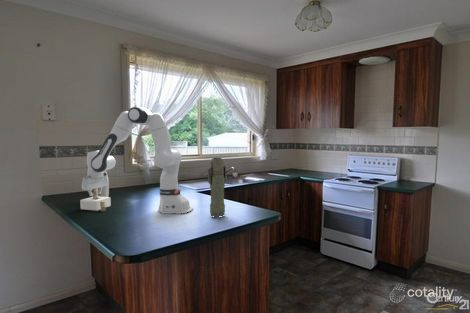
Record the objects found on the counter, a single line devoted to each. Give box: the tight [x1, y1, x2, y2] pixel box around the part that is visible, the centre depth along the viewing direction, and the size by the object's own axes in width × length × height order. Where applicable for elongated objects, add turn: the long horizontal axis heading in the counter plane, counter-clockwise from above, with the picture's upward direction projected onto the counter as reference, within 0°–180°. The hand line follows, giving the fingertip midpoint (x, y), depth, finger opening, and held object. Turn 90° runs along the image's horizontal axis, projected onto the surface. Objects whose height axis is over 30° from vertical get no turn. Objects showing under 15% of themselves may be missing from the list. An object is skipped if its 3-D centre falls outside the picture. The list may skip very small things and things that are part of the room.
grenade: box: [207, 157, 227, 217], centre depth 174 cm, size 9×12×35 cm
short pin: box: [100, 201, 107, 212], centre depth 187 cm, size 3×3×6 cm
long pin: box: [92, 188, 98, 200], centre depth 196 cm, size 3×3×14 cm
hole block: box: [79, 196, 112, 211], centre depth 196 cm, size 13×13×6 cm
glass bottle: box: [98, 170, 110, 197], centre depth 216 cm, size 10×10×28 cm
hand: (95, 194), depth 196 cm, fingers open, 6 cm apart
